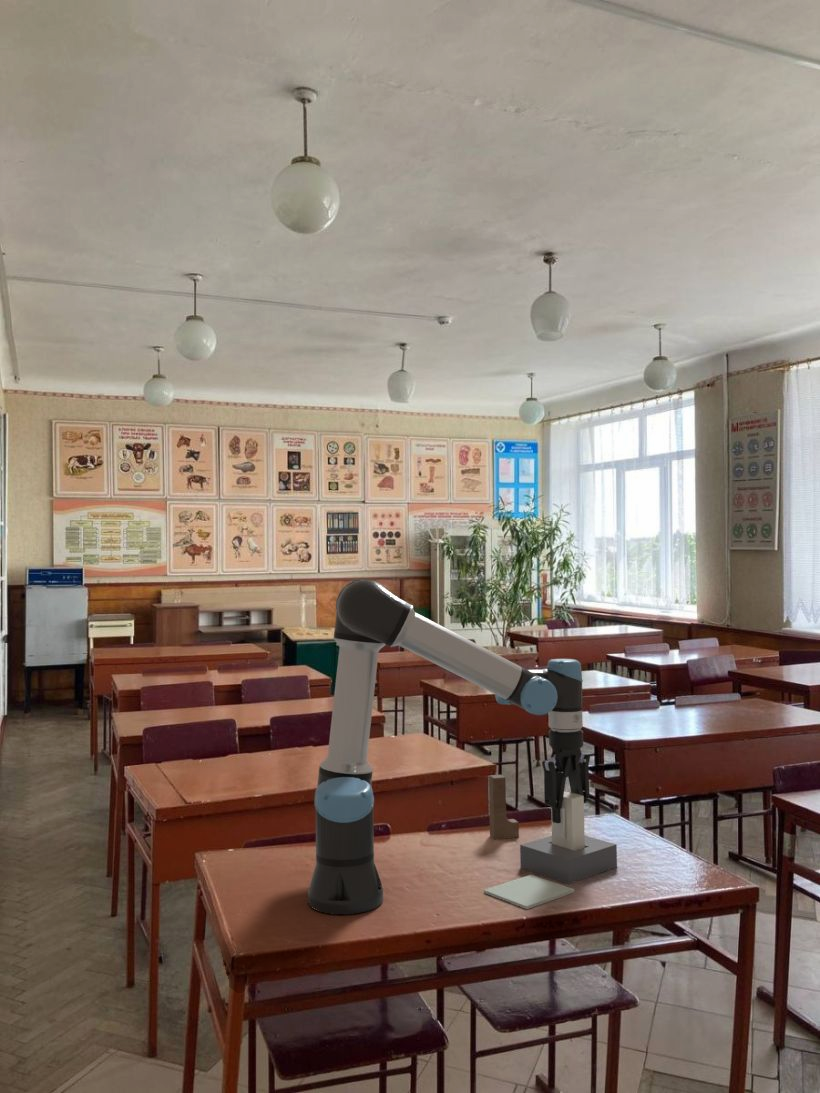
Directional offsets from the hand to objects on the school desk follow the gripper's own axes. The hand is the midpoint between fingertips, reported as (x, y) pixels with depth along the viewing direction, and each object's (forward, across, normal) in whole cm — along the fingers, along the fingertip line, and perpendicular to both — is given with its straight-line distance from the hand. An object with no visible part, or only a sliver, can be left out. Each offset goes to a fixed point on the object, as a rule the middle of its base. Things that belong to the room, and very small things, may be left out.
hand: (568, 834), depth 199 cm
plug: (+7, 0, 0) cm, 7 cm away
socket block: (+7, 0, 0) cm, 7 cm away
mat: (+7, -18, -5) cm, 20 cm away
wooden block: (+7, +6, +26) cm, 28 cm away
